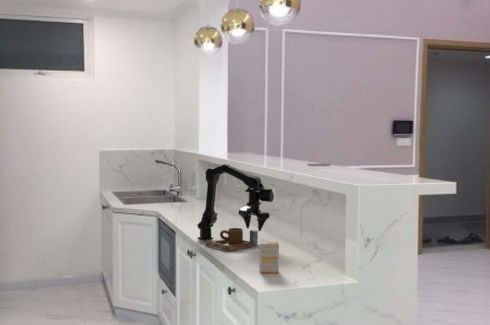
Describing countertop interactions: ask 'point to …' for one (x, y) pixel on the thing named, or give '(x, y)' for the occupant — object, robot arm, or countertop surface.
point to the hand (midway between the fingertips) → (253, 229)
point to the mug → (233, 235)
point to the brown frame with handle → (235, 246)
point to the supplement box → (269, 257)
